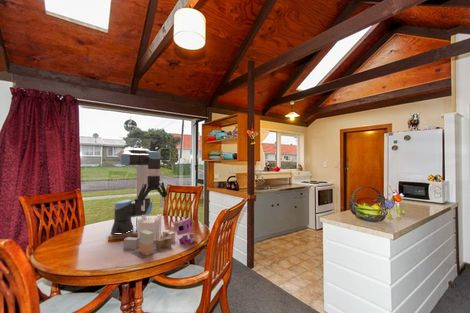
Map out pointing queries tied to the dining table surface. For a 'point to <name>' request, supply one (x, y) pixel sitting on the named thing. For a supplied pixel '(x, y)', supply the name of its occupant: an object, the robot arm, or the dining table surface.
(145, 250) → the terracotta brick
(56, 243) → the dining table surface
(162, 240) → the walnut brick
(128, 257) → the dining table surface
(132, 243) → the grey brick
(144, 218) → the castle model
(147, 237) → the sage brick
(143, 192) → the robot arm
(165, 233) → the maple brick
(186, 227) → the toy
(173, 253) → the dining table surface
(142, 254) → the felt mat
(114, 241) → the dining table surface
